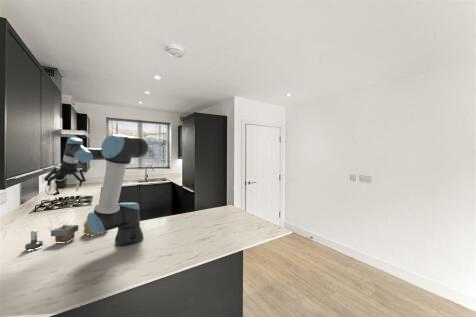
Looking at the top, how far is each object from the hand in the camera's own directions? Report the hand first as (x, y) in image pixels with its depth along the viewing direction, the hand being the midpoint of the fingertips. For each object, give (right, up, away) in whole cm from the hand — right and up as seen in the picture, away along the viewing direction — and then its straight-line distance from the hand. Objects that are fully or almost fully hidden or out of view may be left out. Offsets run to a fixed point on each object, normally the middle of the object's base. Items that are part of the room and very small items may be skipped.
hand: (63, 190), depth 127 cm
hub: (-3, -31, -15) cm, 35 cm away
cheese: (+16, -31, +7) cm, 36 cm away
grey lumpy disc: (+7, -26, -6) cm, 28 cm away
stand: (+7, -31, -6) cm, 32 cm away
